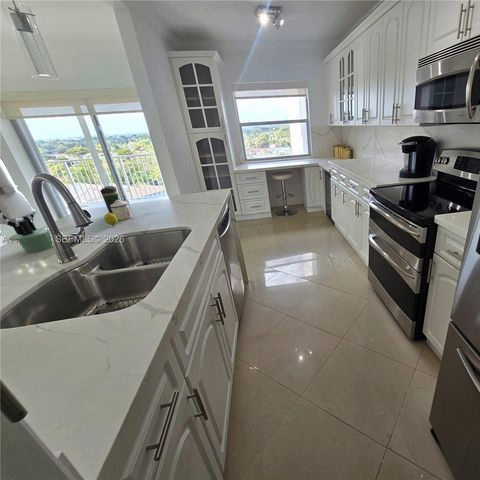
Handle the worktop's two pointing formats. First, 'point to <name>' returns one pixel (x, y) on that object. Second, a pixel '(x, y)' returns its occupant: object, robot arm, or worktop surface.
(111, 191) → the coffee jar
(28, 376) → the worktop surface
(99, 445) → the worktop surface
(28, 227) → the lid
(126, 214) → the teacup with lid
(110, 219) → the lemon
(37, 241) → the green round open container
